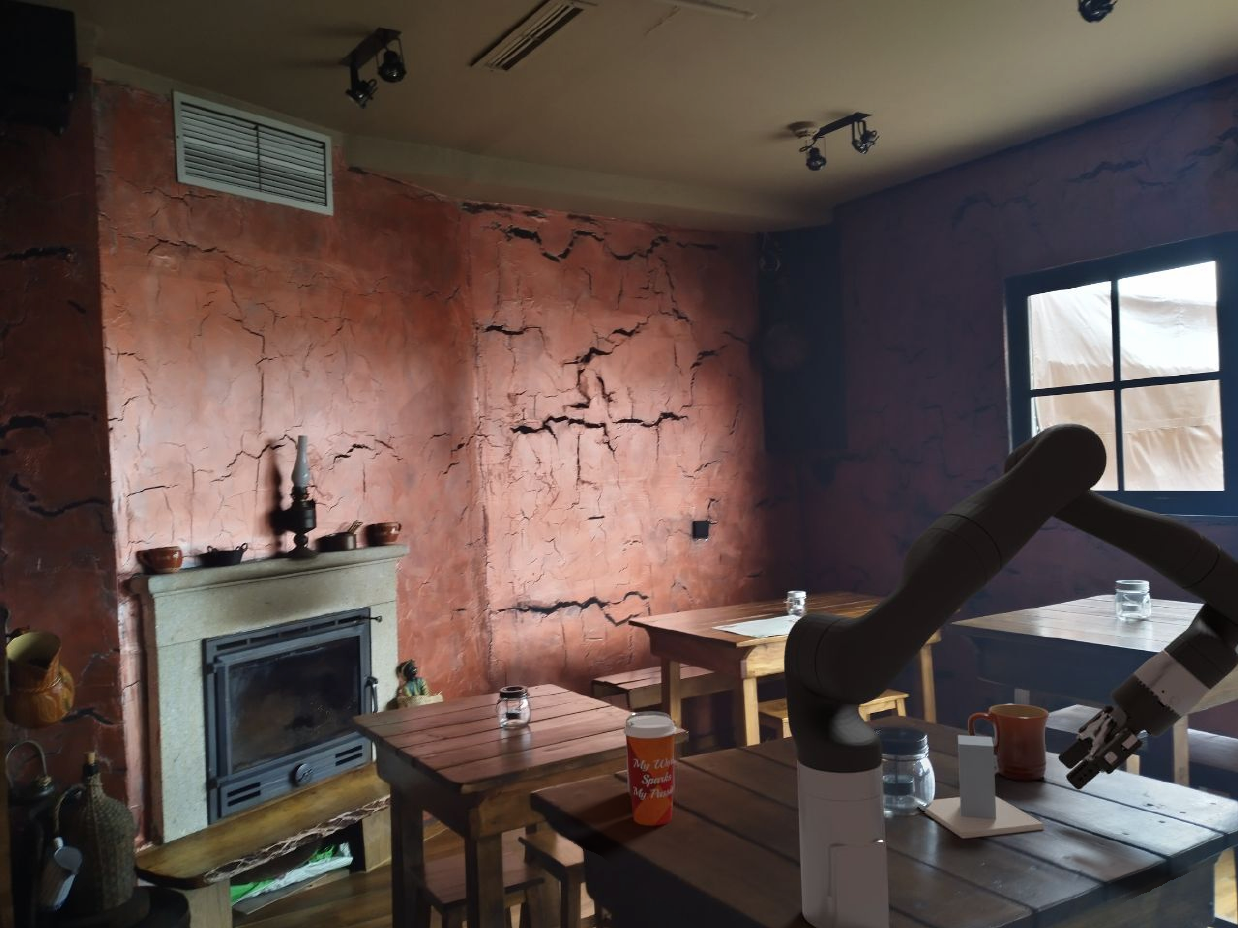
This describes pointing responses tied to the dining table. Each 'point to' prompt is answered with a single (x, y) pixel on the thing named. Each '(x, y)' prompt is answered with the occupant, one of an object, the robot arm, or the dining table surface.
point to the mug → (1017, 739)
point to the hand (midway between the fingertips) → (1067, 773)
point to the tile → (981, 819)
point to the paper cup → (651, 768)
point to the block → (977, 777)
